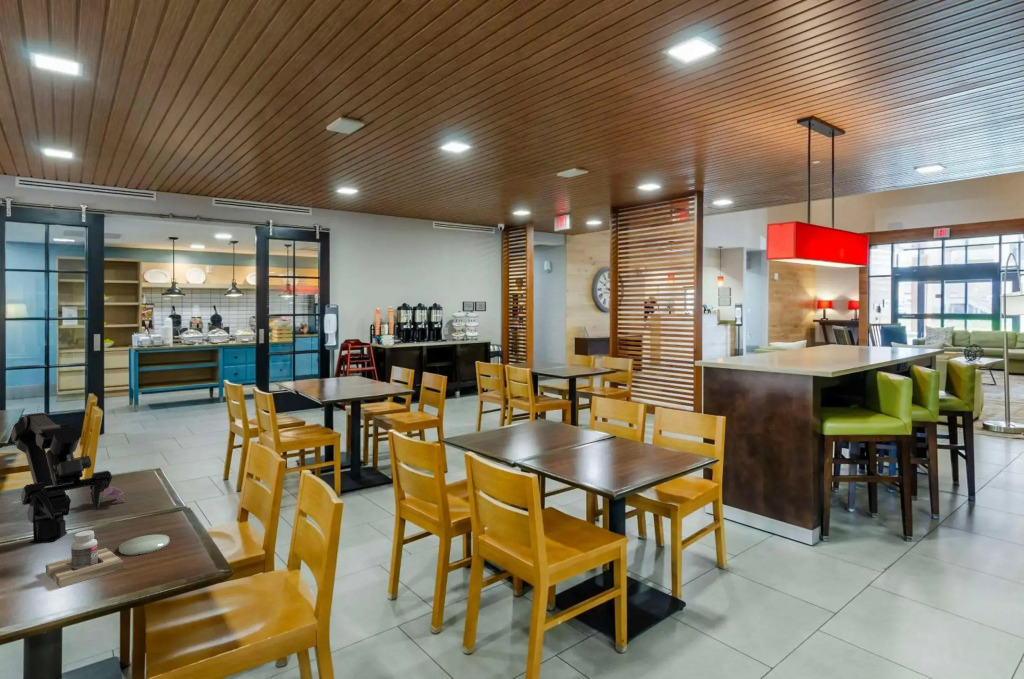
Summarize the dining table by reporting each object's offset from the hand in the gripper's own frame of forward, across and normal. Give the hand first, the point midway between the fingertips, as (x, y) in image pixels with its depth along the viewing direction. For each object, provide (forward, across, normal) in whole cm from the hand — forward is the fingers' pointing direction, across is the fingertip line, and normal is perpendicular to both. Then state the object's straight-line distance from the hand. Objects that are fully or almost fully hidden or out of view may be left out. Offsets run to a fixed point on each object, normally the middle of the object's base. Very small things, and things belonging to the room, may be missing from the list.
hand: (75, 513), depth 146 cm
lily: (-24, +21, +43) cm, 54 cm away
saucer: (+11, +15, +8) cm, 20 cm away
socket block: (+15, 0, +4) cm, 15 cm away
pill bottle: (+15, 0, +4) cm, 15 cm away
